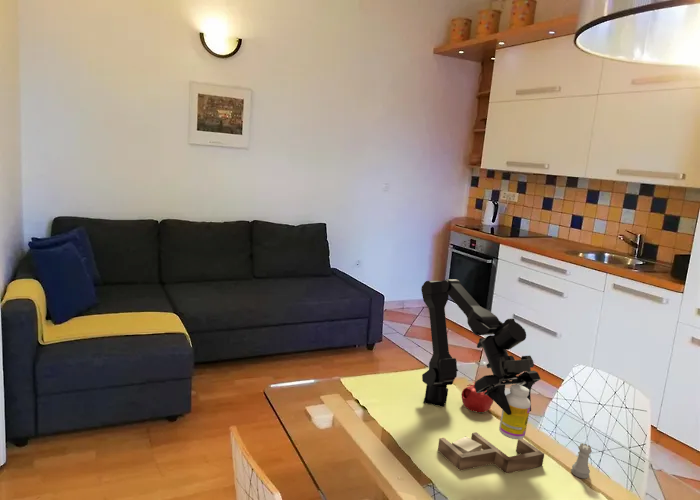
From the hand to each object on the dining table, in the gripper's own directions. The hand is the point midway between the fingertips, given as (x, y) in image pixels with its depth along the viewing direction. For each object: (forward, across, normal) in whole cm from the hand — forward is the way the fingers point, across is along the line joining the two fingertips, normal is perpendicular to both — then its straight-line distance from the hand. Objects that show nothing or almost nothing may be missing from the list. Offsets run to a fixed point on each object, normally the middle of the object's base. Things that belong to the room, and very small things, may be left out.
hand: (519, 413), depth 136 cm
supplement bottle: (+4, 0, +6) cm, 7 cm away
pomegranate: (-10, +11, +29) cm, 33 cm away
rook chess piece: (+17, +14, +2) cm, 22 cm away
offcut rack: (+8, -5, +11) cm, 14 cm away
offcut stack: (+6, -11, +13) cm, 18 cm away
